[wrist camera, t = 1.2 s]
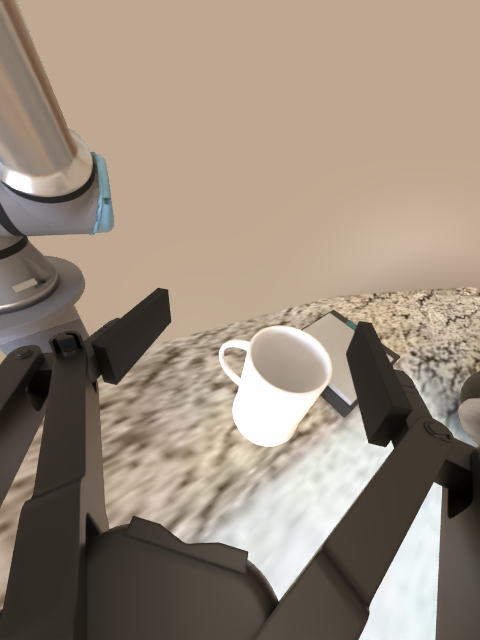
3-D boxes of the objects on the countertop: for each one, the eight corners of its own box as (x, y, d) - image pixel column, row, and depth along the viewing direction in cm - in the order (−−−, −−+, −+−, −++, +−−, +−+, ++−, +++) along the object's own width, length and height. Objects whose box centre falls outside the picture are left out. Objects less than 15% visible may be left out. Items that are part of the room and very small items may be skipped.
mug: (199, 400, 31) (199, 340, 22) (238, 359, 36) (250, 298, 28) (277, 464, 26) (313, 420, 18) (308, 407, 32) (347, 352, 23)
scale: (275, 352, 38) (279, 340, 36) (329, 317, 46) (335, 306, 44) (344, 417, 31) (353, 408, 29) (393, 363, 39) (403, 353, 37)
